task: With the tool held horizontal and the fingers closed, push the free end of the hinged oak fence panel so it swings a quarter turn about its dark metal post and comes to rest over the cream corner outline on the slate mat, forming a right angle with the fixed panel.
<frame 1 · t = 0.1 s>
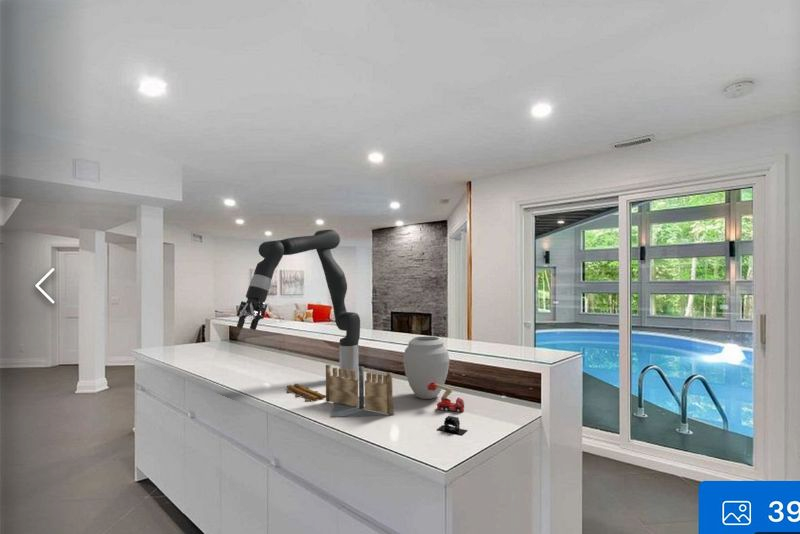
hand: (245, 328, 149), 31 cm above the table, tool tilted 20°, fingers open, 8 cm apart
fence panel: (341, 385, 156), point 8 cm above the table, hinge at 0.0°
fixed fence: (361, 409, 151), resting on layout mat
layout mat: (363, 406, 154), on the table
decorative fence: (304, 395, 172), on the table
black arched bracket: (452, 432, 129), on the table
vase: (426, 397, 166), on the table
toy fire truck: (446, 410, 149), on the table
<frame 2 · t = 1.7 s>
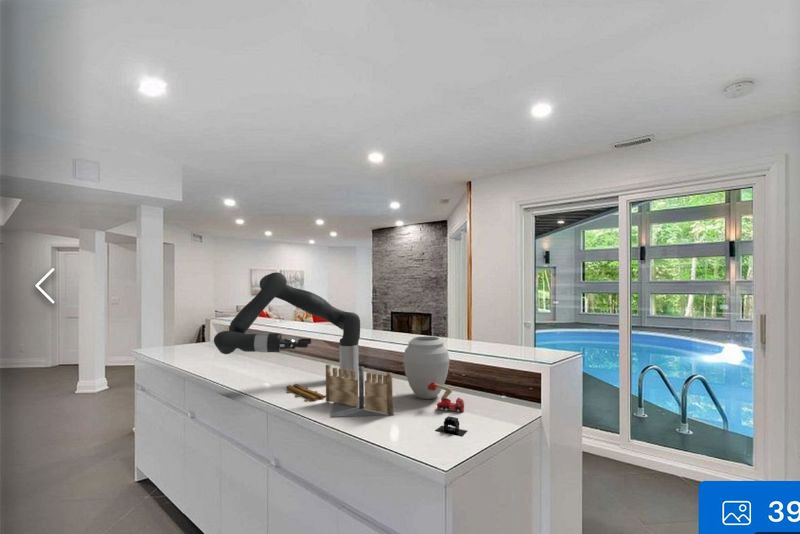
hand: (309, 342, 159), 24 cm above the table, tool horizontal, fingers open, 8 cm apart
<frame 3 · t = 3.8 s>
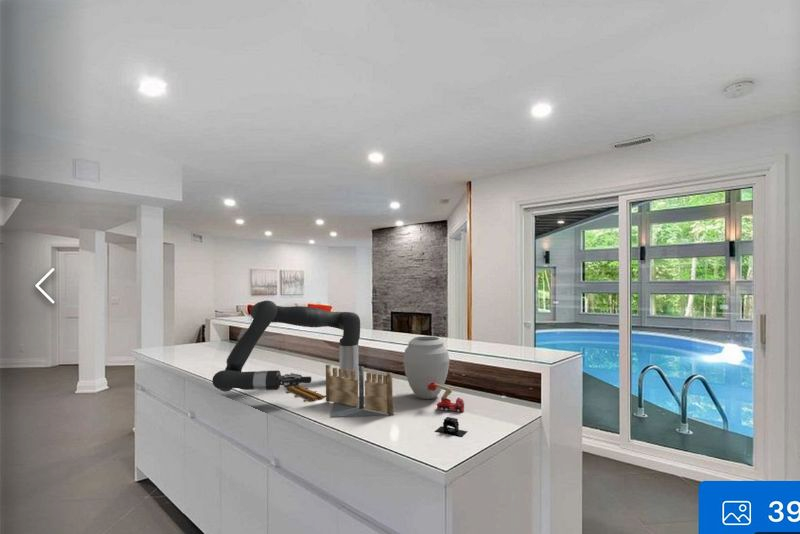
hand: (311, 379, 158), 10 cm above the table, tool horizontal, fingers closed
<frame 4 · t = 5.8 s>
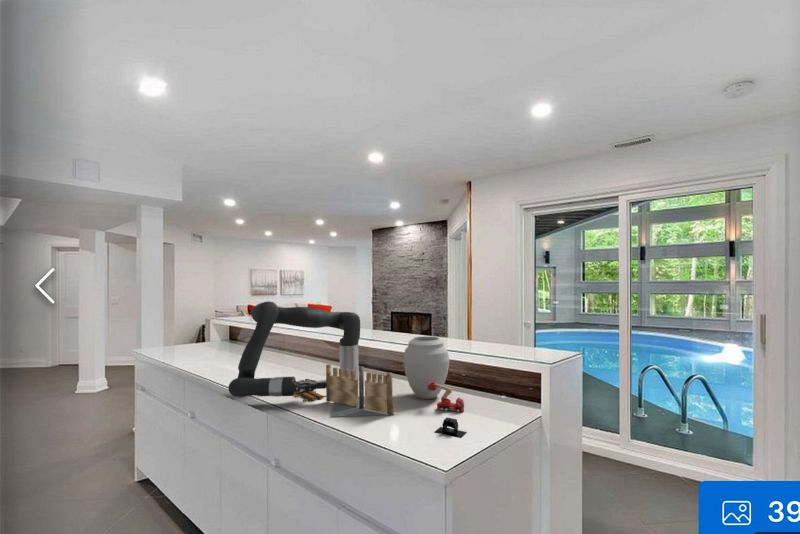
hand: (326, 385, 159), 7 cm above the table, tool horizontal, fingers closed
fence panel: (341, 385, 156), point 8 cm above the table, hinge at -1.0°, touching gripper
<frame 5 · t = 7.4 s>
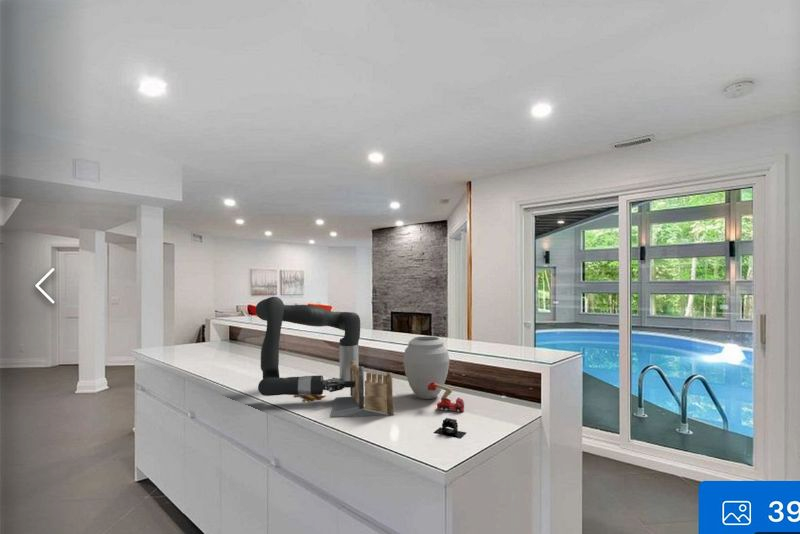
hand: (354, 384, 160), 7 cm above the table, tool horizontal, fingers closed
fence panel: (356, 382, 160), point 8 cm above the table, hinge at -41.1°, touching gripper
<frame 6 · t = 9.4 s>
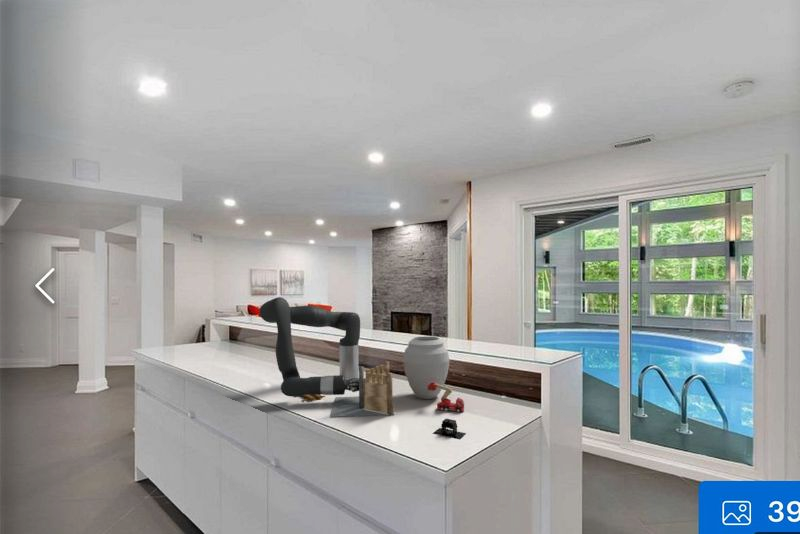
hand: (375, 384, 160), 7 cm above the table, tool horizontal, fingers closed
fence panel: (377, 382, 159), point 8 cm above the table, hinge at -93.8°, touching gripper
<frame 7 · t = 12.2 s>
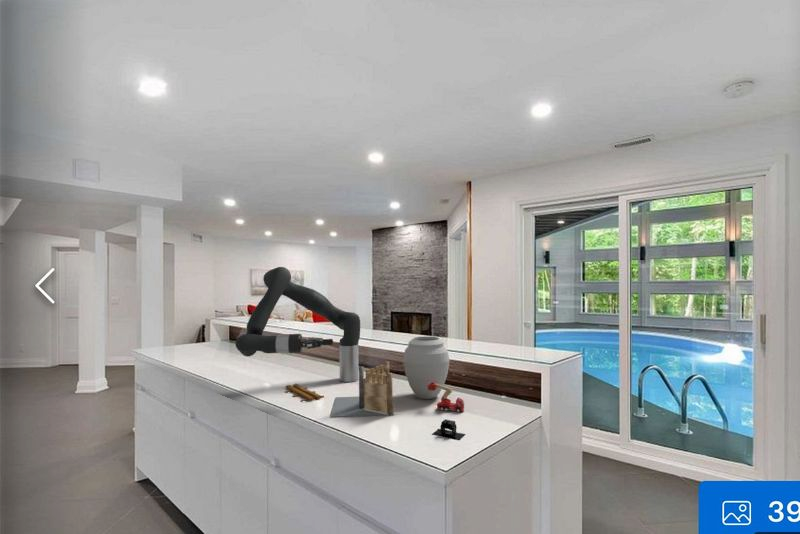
hand: (332, 341, 159), 24 cm above the table, tool horizontal, fingers closed
fence panel: (377, 382, 159), point 8 cm above the table, hinge at -93.9°
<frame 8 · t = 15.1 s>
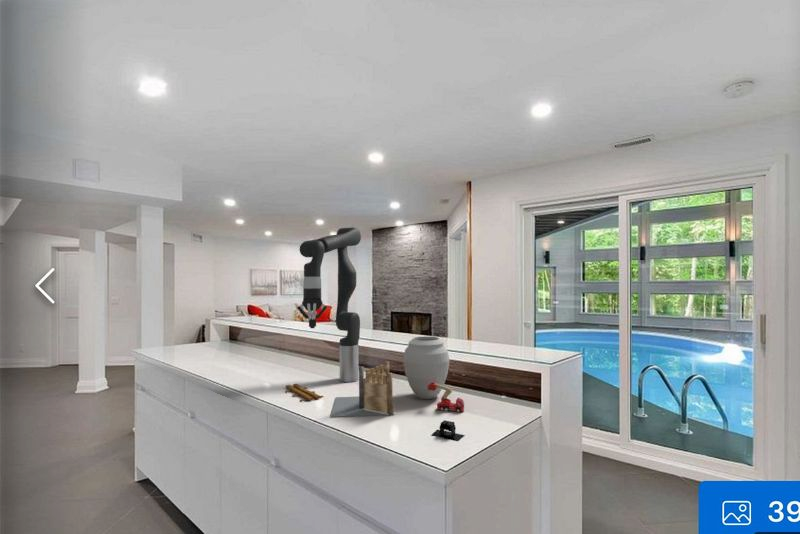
hand: (312, 328, 168), 29 cm above the table, tool pointing down, fingers closed
at the end: fence panel at -94° (first picture: +0°); fence panel touching nothing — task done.
